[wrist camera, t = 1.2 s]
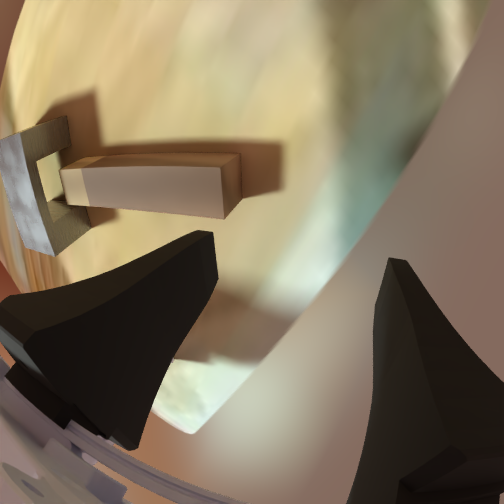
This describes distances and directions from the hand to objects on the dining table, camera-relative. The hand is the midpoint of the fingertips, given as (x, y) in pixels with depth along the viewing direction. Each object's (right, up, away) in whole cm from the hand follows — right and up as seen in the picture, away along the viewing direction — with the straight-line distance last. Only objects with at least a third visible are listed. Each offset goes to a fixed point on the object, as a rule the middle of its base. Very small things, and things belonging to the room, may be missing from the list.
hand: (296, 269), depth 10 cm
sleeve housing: (-20, +8, +13) cm, 25 cm away
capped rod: (-9, +6, +10) cm, 15 cm away
